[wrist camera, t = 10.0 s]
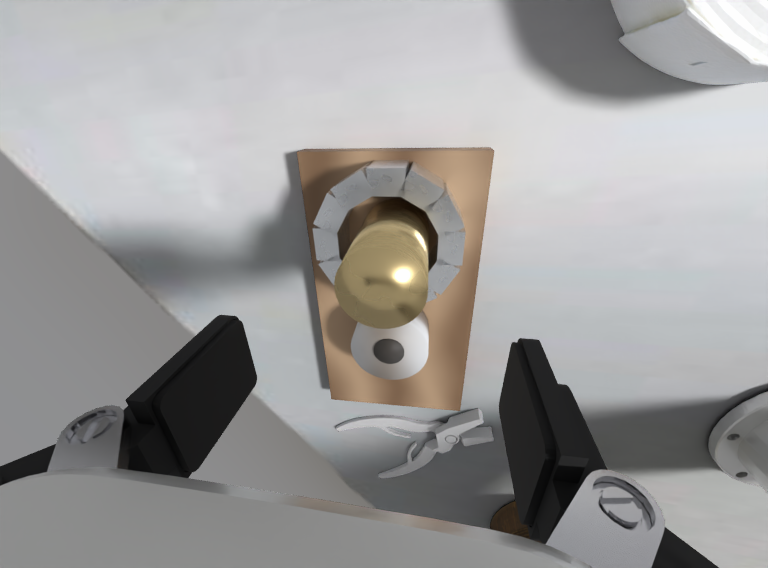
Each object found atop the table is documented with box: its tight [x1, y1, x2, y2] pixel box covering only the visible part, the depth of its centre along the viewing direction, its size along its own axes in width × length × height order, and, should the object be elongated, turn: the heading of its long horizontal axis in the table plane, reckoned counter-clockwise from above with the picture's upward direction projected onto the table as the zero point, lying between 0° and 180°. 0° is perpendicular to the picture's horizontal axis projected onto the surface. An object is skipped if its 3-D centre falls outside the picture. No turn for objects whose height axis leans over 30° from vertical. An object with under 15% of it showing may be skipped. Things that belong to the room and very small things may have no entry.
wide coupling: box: [312, 160, 466, 302], centre depth 21 cm, size 9×9×3 cm
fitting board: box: [297, 148, 494, 411], centre depth 24 cm, size 12×22×5 cm, turn 1°
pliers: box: [336, 408, 494, 479], centre depth 34 cm, size 10×2×15 cm
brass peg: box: [334, 199, 429, 329], centre depth 19 cm, size 4×4×8 cm
